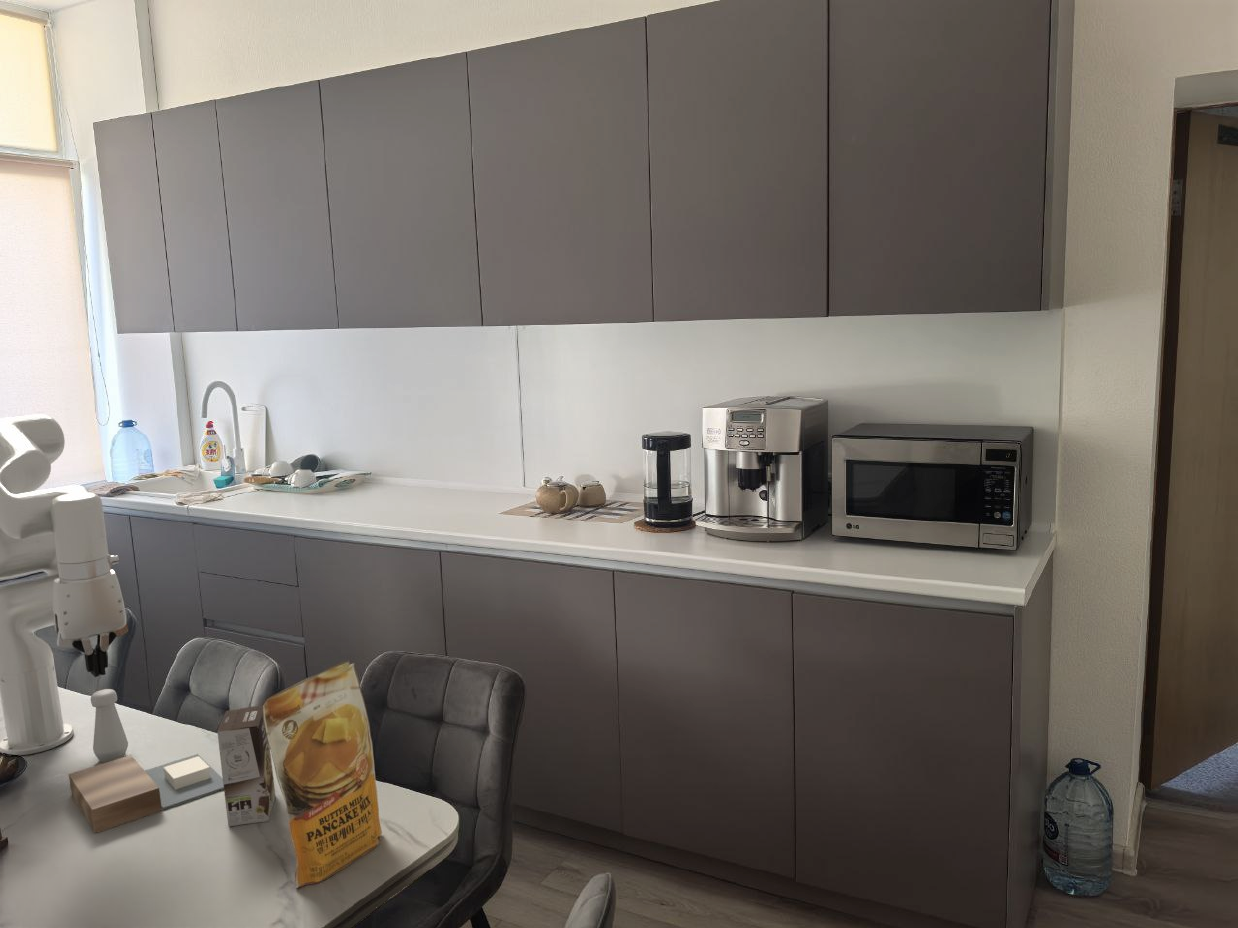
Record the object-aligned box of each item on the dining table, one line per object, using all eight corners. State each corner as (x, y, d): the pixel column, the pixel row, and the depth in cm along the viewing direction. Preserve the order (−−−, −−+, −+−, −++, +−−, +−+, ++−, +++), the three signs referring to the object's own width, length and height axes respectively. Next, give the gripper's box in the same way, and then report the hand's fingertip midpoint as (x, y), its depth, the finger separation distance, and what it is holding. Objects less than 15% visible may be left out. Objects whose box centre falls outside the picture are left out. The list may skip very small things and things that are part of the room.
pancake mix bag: (267, 885, 141) (245, 698, 137) (368, 823, 157) (351, 653, 152) (298, 899, 138) (277, 707, 133) (399, 834, 153) (383, 660, 149)
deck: (71, 795, 171) (68, 773, 171) (134, 775, 177) (131, 754, 177) (95, 832, 158) (92, 809, 158) (162, 810, 164) (159, 787, 164)
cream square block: (198, 755, 179) (200, 766, 179) (163, 767, 175) (164, 777, 175) (209, 766, 174) (211, 777, 174) (173, 778, 170) (175, 789, 171)
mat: (135, 775, 178) (135, 773, 178) (198, 755, 184) (197, 753, 184) (163, 809, 165) (163, 807, 165) (229, 787, 171) (229, 785, 171)
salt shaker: (131, 759, 184) (122, 692, 182) (97, 768, 181) (87, 700, 179) (126, 748, 189) (117, 683, 187) (93, 757, 186) (83, 690, 184)
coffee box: (269, 821, 159) (258, 725, 157) (227, 827, 158) (215, 731, 155) (276, 794, 168) (266, 703, 165) (236, 800, 167) (225, 708, 164)
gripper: (126, 554, 172) (138, 655, 175) (27, 573, 162) (42, 679, 166) (139, 563, 166) (152, 667, 170) (38, 583, 157) (53, 693, 160)
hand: (97, 673), depth 168 cm, fingers closed
